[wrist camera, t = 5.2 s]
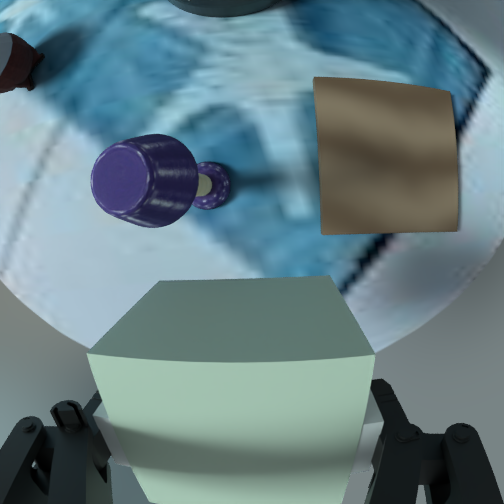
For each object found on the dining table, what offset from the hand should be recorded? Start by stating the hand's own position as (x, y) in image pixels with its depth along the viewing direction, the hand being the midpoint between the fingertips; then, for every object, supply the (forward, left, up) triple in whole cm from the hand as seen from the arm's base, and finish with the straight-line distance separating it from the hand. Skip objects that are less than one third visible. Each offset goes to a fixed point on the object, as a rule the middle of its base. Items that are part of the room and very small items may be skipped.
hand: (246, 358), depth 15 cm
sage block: (0, 0, 0) cm, 0 cm away
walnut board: (-11, +13, -14) cm, 22 cm away
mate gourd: (-26, -26, -15) cm, 39 cm away
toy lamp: (-9, -4, -15) cm, 17 cm away
